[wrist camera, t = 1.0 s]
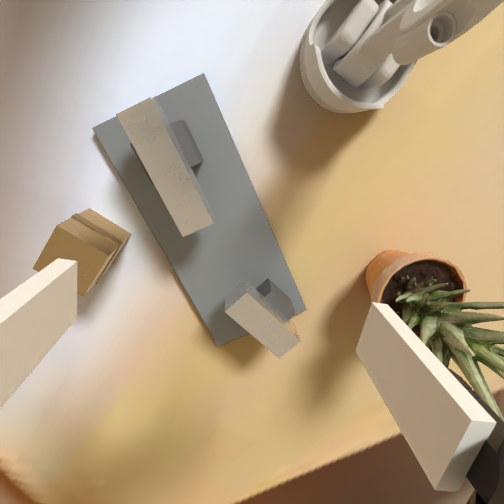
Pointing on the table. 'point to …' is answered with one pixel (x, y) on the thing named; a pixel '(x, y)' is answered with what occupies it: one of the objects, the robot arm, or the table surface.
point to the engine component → (377, 46)
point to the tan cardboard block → (85, 246)
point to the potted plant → (439, 312)
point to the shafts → (199, 217)
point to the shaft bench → (222, 204)
